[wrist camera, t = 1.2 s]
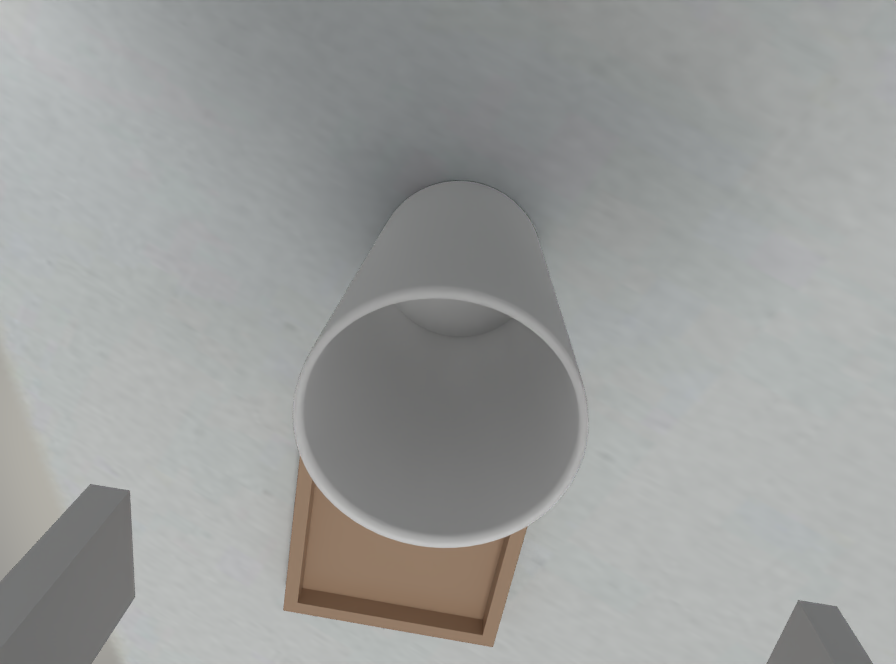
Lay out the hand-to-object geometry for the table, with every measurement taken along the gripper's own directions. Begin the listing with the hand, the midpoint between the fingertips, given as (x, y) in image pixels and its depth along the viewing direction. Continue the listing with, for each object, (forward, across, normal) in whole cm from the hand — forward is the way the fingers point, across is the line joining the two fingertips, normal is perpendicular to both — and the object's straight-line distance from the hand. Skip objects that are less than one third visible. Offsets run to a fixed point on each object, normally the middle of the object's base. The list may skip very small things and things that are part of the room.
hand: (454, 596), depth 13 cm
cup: (+22, -1, 0) cm, 22 cm away
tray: (+21, -1, -15) cm, 26 cm away
